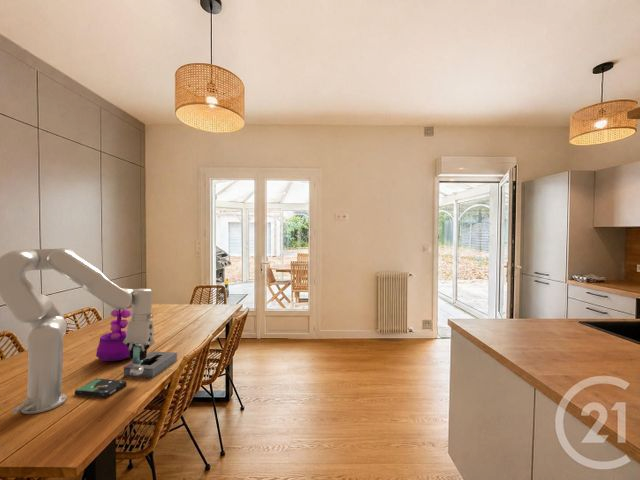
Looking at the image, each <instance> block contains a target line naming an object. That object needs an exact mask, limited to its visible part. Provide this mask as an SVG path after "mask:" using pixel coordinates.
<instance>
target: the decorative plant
mask: <svg viewBox="0 0 640 480" xmlns="http://www.w3.org/2000/svg"><path fill="white" fill-rule="evenodd" d="M121 310H122V311H121ZM110 315H111V317H113V318H116V319H112V320H111V321H110V325H111V326H110V331H111V332H108V333H105V334H103V335H100V337H99V342H98V346H97V348H96V353H95V354H96V355H95V356H96V357H97V358H98V359H99V360H100V361H104V362H115V361H121V360H125V359H128V358H130V350H129V348H128V347H127V345H126V344H125V343H123V341H124V339H125V338H126V333H127V330H123V329H125V328H127V327H128V324H129V321H128V319H127V318H130V317H131V309H128V308H125V309H113V310H112V311H111V313H110ZM122 318H123V319H122ZM136 345H140V344H136Z"/></svg>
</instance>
